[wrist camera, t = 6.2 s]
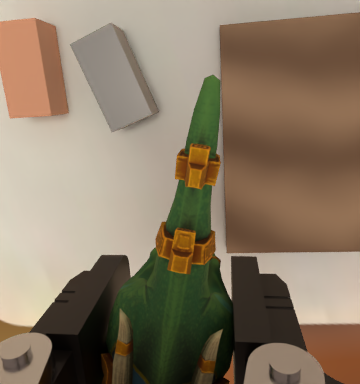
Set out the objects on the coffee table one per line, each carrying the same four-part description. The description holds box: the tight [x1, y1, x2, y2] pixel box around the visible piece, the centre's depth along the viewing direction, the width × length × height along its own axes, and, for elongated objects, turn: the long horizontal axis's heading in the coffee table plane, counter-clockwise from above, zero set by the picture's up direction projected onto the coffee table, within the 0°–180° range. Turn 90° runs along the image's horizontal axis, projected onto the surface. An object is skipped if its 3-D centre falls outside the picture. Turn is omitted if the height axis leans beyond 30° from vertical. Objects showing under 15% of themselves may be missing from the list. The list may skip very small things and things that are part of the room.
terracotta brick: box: [0, 18, 69, 118], centre depth 24 cm, size 6×3×3 cm, turn 4°
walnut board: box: [220, 12, 360, 253], centre depth 24 cm, size 16×10×1 cm, turn 4°
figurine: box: [101, 75, 234, 384], centre depth 8 cm, size 3×12×8 cm, turn 171°
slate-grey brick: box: [70, 23, 159, 132], centre depth 23 cm, size 6×3×3 cm, turn 24°
